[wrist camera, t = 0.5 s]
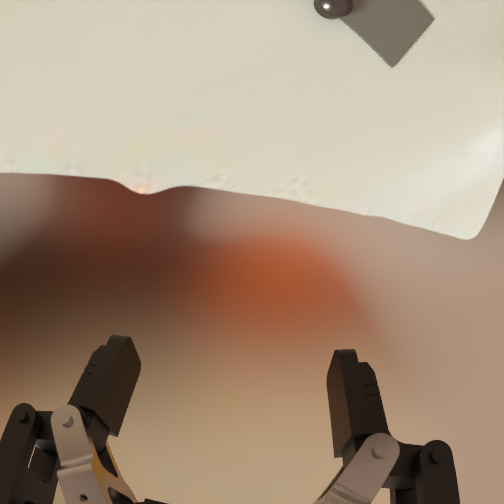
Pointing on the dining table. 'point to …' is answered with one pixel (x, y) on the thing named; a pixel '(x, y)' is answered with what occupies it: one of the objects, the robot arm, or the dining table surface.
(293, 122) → the dining table surface
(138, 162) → the dining table surface
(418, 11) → the pad
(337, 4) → the spacers
